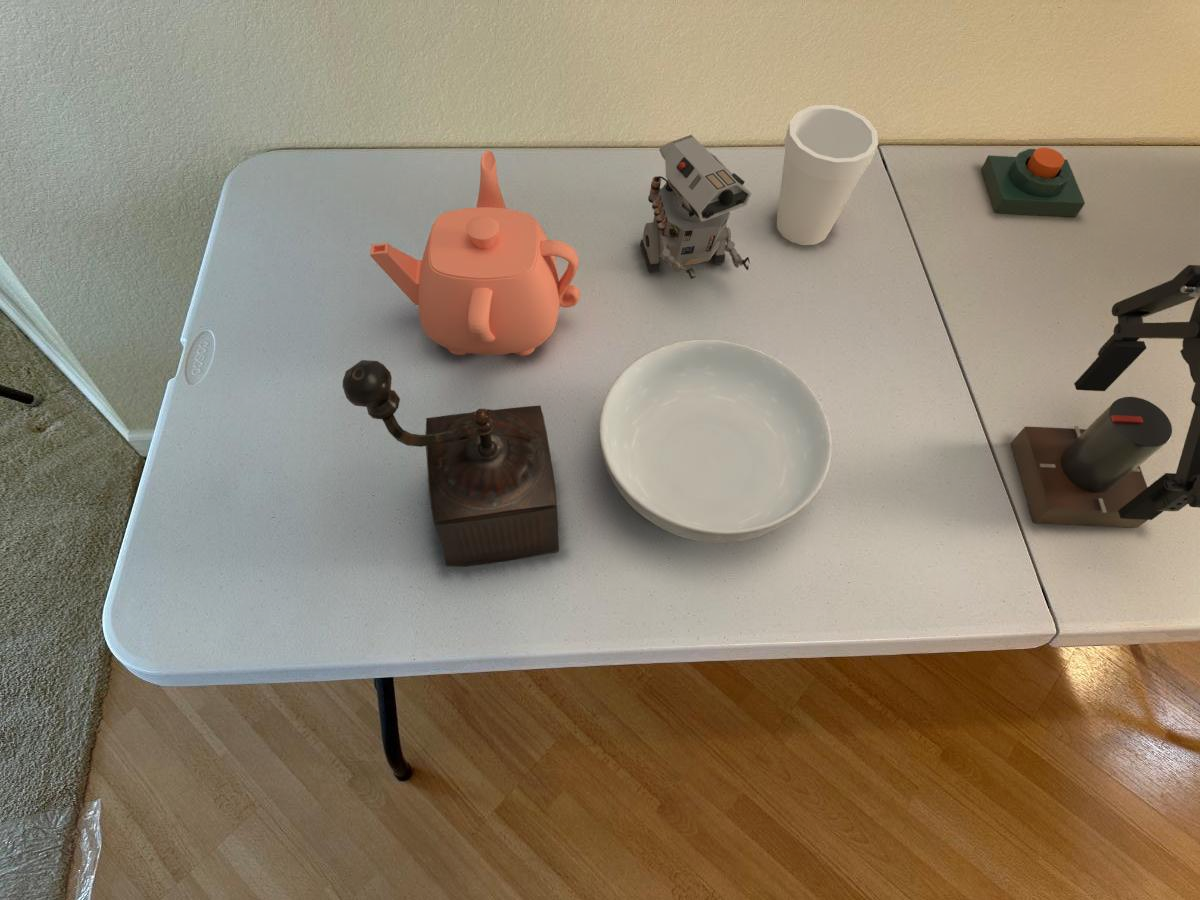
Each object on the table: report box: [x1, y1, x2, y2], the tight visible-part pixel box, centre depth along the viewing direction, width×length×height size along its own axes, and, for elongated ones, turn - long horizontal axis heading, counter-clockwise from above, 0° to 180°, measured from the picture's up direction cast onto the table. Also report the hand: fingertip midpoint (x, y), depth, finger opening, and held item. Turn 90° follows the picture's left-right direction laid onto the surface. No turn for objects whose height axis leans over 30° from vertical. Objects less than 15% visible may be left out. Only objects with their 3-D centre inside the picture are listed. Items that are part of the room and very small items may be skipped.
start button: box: [1027, 147, 1065, 178], centre depth 97 cm, size 4×4×2 cm
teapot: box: [369, 150, 581, 357], centre depth 81 cm, size 16×17×14 cm
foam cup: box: [776, 104, 879, 246], centre depth 91 cm, size 10×9×13 cm
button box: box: [980, 148, 1086, 218], centre depth 99 cm, size 10×8×4 cm
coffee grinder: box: [342, 359, 560, 568], centre depth 67 cm, size 16×11×18 cm
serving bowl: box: [598, 339, 833, 543], centre depth 75 cm, size 21×21×7 cm
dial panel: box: [1010, 425, 1148, 529], centre depth 77 cm, size 10×9×3 cm
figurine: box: [639, 134, 752, 280], centre depth 85 cm, size 9×12×15 cm
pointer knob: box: [1062, 396, 1173, 492], centre depth 73 cm, size 5×5×8 cm
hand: (1110, 448), depth 73 cm, fingers open, 13 cm apart
